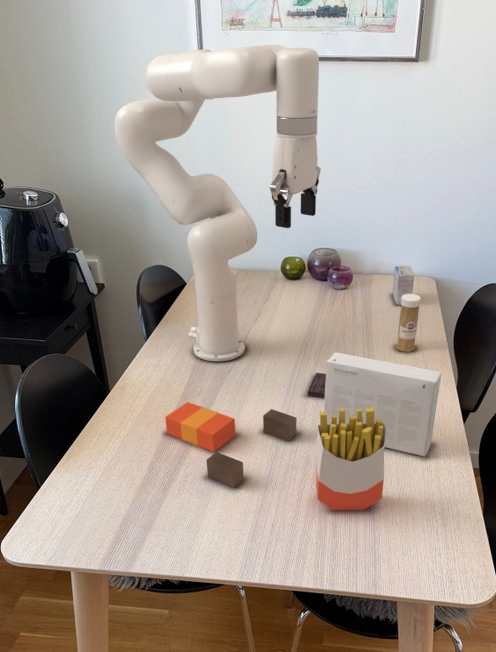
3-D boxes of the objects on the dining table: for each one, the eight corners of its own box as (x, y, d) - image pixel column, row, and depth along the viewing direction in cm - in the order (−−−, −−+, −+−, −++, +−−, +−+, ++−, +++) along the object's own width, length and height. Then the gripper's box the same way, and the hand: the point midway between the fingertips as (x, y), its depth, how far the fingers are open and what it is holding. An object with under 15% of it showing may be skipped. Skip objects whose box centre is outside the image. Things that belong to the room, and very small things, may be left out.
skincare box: (432, 443, 131) (443, 371, 122) (425, 457, 127) (436, 384, 118) (331, 419, 138) (334, 350, 129) (321, 433, 134) (324, 362, 125)
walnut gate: (207, 477, 122) (206, 459, 120) (271, 425, 137) (271, 408, 134) (234, 488, 120) (233, 470, 117) (296, 434, 134) (296, 417, 132)
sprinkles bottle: (402, 353, 163) (408, 301, 155) (392, 346, 166) (397, 294, 159) (418, 350, 164) (424, 298, 157) (408, 343, 168) (414, 291, 160)
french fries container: (380, 510, 114) (390, 421, 104) (317, 512, 114) (320, 423, 104) (376, 494, 118) (385, 406, 108) (315, 495, 118) (318, 408, 107)
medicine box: (411, 305, 187) (414, 275, 183) (395, 305, 188) (398, 275, 183) (407, 294, 194) (410, 265, 189) (391, 294, 194) (394, 265, 189)
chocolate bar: (316, 372, 153) (395, 381, 149) (316, 376, 153) (394, 385, 150) (307, 391, 146) (390, 401, 142) (307, 395, 146) (390, 405, 142)
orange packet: (166, 433, 134) (164, 416, 132) (189, 418, 139) (187, 401, 137) (213, 452, 129) (212, 434, 127) (235, 435, 134) (234, 418, 131)
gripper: (302, 118, 131) (301, 207, 141) (254, 131, 119) (256, 229, 129) (336, 121, 128) (332, 212, 137) (290, 135, 115) (289, 235, 125)
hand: (295, 220), depth 133 cm, fingers open, 9 cm apart
